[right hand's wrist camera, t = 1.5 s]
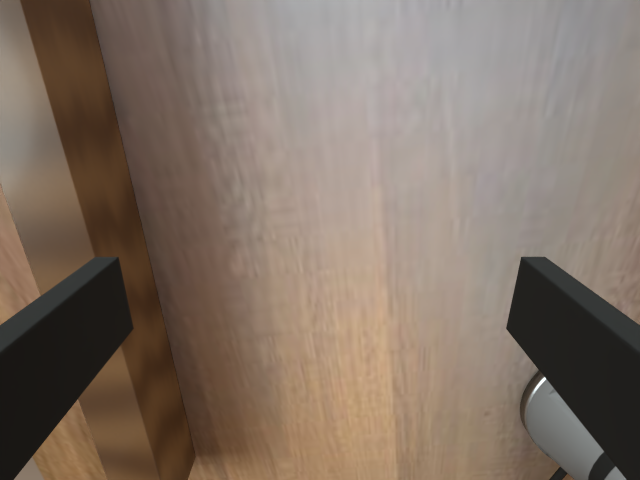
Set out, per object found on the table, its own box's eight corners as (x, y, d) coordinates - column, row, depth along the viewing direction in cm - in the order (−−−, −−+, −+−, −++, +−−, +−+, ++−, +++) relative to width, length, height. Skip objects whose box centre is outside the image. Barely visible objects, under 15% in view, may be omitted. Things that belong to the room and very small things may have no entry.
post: (195, 456, 44) (173, 523, 38) (153, 458, 45) (123, 525, 38) (22, -287, 22) (-112, -459, 15) (-60, -281, 22) (-231, -449, 15)
